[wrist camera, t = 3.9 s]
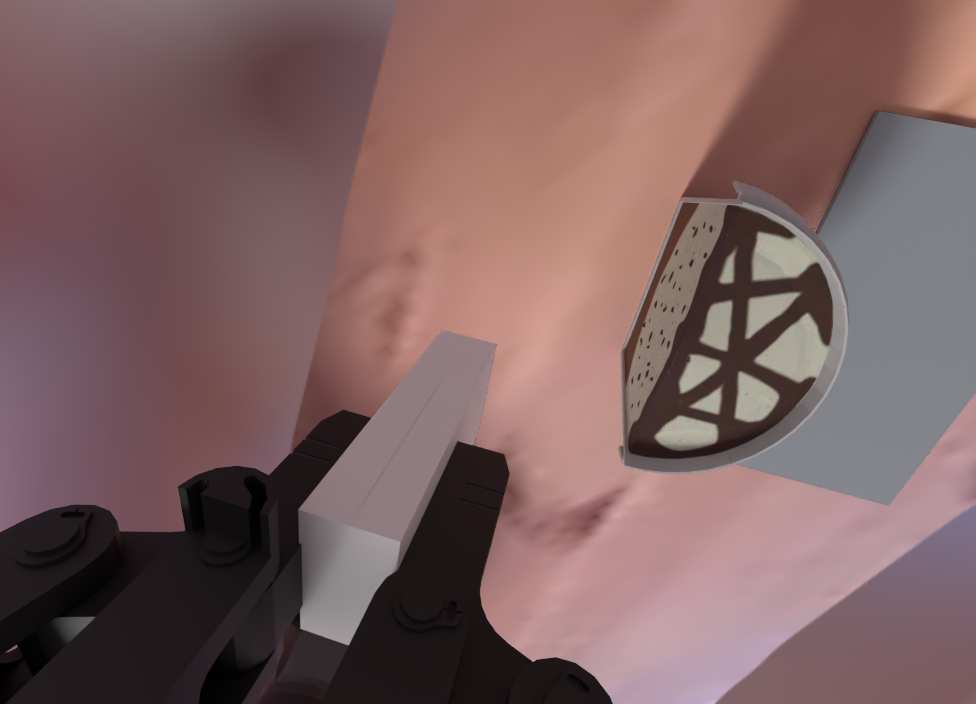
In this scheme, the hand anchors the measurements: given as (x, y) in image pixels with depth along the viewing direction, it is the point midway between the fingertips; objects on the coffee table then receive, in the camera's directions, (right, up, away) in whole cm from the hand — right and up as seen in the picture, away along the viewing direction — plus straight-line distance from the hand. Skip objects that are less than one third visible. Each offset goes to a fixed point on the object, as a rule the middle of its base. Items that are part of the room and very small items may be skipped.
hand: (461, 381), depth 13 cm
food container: (+13, +4, +14) cm, 19 cm away
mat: (+22, +2, +12) cm, 25 cm away
